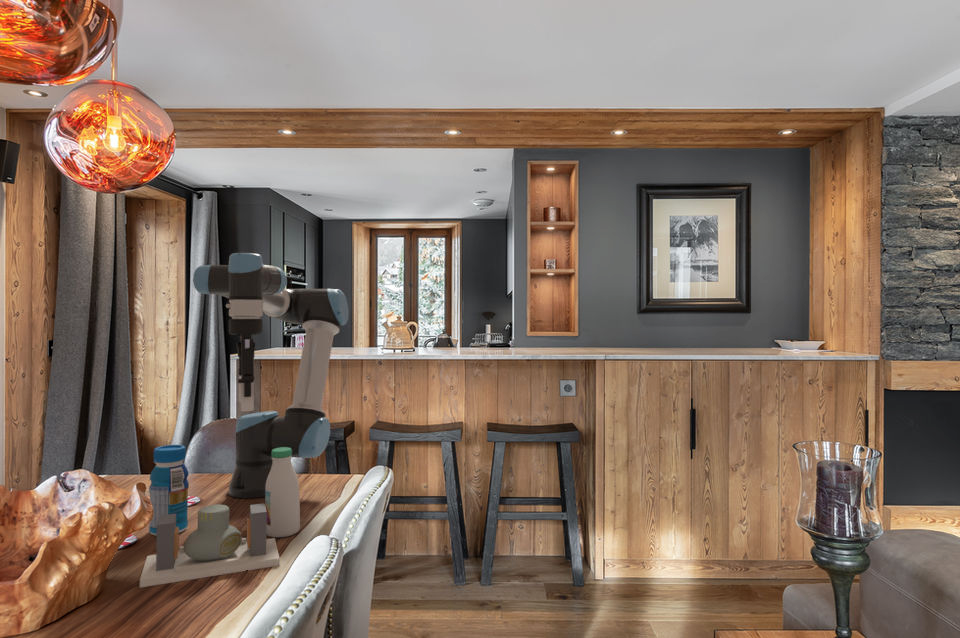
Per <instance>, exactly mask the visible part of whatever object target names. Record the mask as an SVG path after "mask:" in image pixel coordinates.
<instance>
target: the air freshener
mask: <svg viewBox="0 0 960 638" xmlns="http://www.w3.org/2000/svg"><path fill="white" fill-rule="evenodd" d="M242 538H243V536H242V533H241V531H240V530H239V529H238V528H236V527H235V526H234V525H230V507H229V505H226V504H210V505H206V506H203V507H201V508H200V509H199V510H198V512H197V528H196V529H195V530H193V531H192V532H191V533H190V534H189V535H188V536H187V537H186V539H185V541H184V543H183V546H184V551H185V553H186V555H187V556H188V557H190V558H191V559H194V560H196V561H200V562H213V561H219V560H223V559H226V558H227V557H228V556H230V555H231V554H233V553H234V552H235V551H236V550H237V549H238V547H239V546H240V544H241V541H242Z"/></svg>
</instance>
